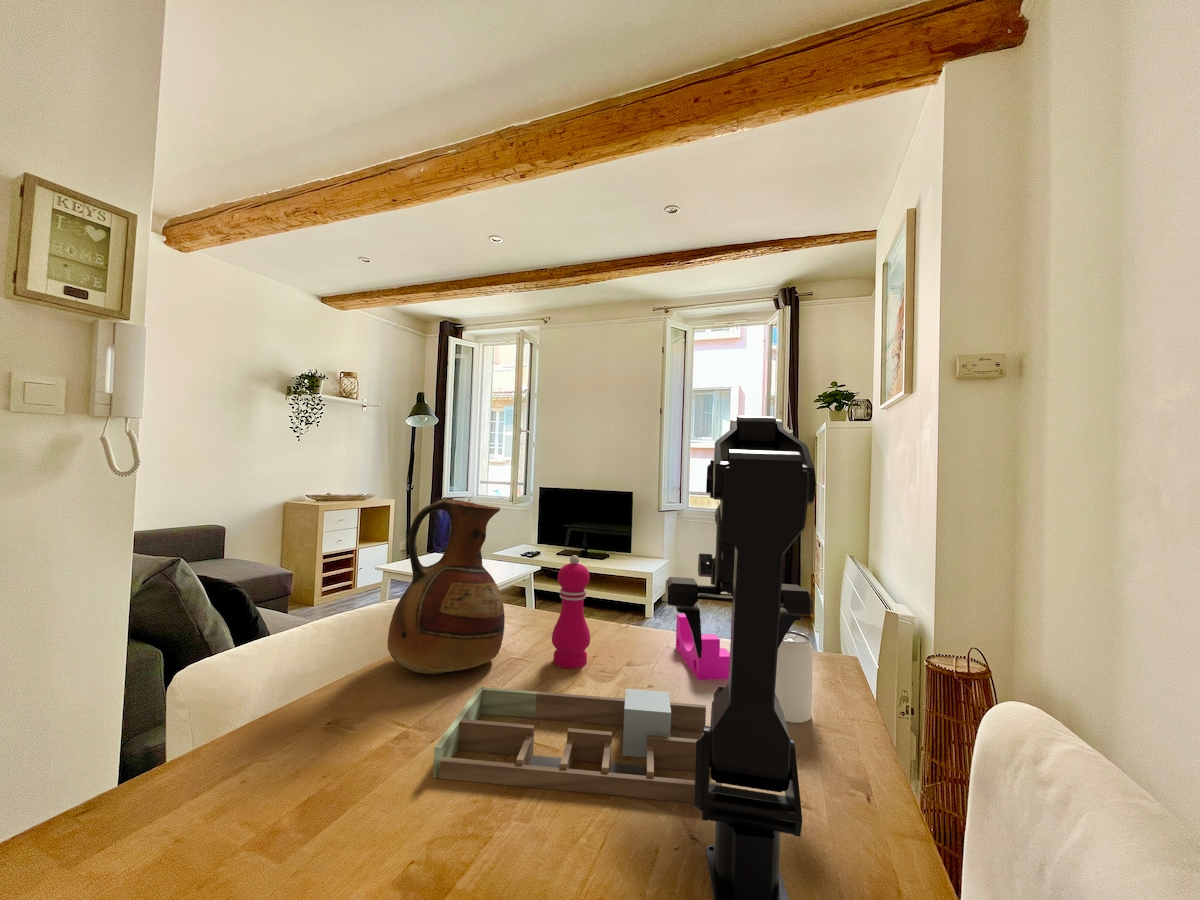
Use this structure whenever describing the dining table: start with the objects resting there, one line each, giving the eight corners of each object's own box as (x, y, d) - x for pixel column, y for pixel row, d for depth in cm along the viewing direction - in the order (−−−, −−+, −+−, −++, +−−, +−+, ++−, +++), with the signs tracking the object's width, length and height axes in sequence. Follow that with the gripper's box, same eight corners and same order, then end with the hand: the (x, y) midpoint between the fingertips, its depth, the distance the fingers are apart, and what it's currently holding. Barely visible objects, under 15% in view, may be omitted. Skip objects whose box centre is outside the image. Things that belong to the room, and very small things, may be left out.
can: (762, 717, 77) (765, 637, 77) (770, 701, 83) (772, 626, 83) (808, 729, 74) (811, 646, 74) (813, 711, 80) (815, 634, 80)
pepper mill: (545, 657, 97) (550, 552, 98) (580, 653, 100) (584, 551, 101) (558, 672, 90) (563, 559, 91) (595, 667, 93) (600, 558, 94)
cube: (669, 760, 65) (671, 712, 65) (622, 756, 65) (624, 708, 66) (667, 735, 71) (668, 691, 71) (624, 731, 71) (625, 688, 72)
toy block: (732, 682, 90) (733, 639, 90) (697, 682, 89) (699, 639, 89) (705, 650, 105) (706, 614, 105) (675, 651, 104) (676, 614, 104)
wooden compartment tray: (722, 805, 56) (723, 773, 56) (432, 777, 59) (434, 747, 59) (704, 729, 73) (705, 705, 73) (478, 710, 75) (479, 686, 75)
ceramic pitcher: (512, 679, 87) (520, 504, 88) (384, 694, 79) (394, 502, 80) (492, 640, 105) (499, 495, 106) (387, 650, 97) (395, 494, 98)
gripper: (789, 539, 77) (786, 645, 76) (665, 533, 78) (661, 636, 77) (815, 549, 65) (812, 673, 65) (670, 541, 67) (665, 662, 66)
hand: (733, 659), depth 68 cm, fingers open, 9 cm apart
